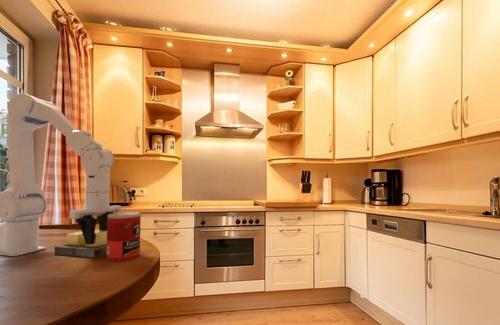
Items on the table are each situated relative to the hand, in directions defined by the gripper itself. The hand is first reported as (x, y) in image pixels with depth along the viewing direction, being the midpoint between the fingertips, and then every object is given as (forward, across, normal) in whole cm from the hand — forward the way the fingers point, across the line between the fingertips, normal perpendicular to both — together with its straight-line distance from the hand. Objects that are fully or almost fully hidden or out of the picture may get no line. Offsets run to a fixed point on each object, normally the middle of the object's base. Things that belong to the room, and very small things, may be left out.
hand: (96, 241), depth 71 cm
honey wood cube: (+2, 0, 0) cm, 2 cm away
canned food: (+3, -1, -10) cm, 11 cm away
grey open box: (+3, 0, +3) cm, 4 cm away
